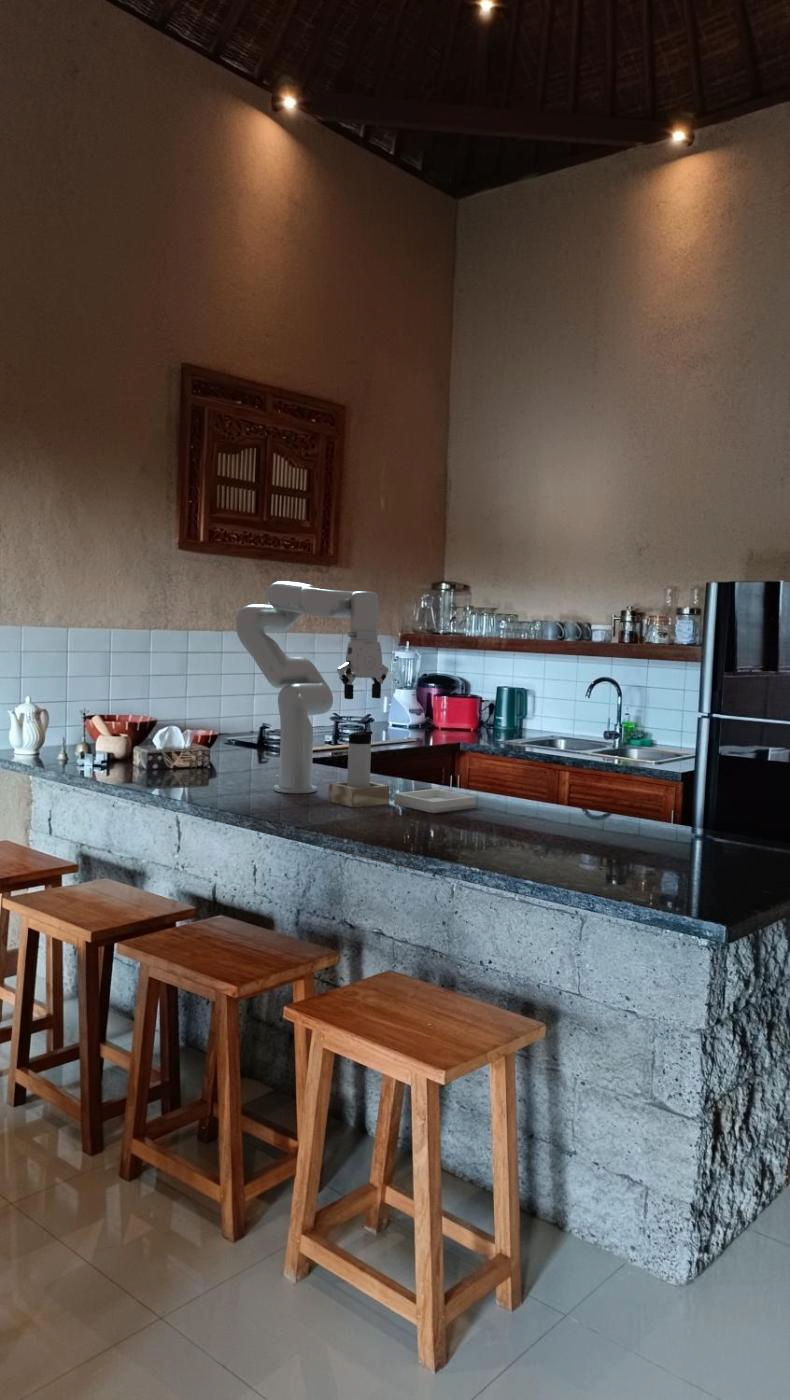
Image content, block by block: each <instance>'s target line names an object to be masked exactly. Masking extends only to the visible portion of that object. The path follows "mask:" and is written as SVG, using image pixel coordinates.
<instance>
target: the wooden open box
mask: <svg viewBox="0 0 790 1400" xmlns="http://www.w3.org/2000/svg"><path fill="white" fill-rule="evenodd" d="M328 802H330V803H335V804H339V805H343V806H347V807H352V808H354V807H357V808H362V807H363V806H365V807H371V806H372V807H373V806H380V805H381V806H382V805H389V804H390V785H387V784H384V783H383V784H382V783H377V782H373V781H370V787H363V788H354V787H349V786H347V781H338V782H337V781H336V782H328ZM363 808H364V807H363Z"/></svg>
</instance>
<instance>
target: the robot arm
mask: <svg viewBox="0 0 790 1400" xmlns="http://www.w3.org/2000/svg"><path fill="white" fill-rule="evenodd" d="M265 596H266V597H265V599H266V600H267V603H268V604H260V603H259V604H248V605H245V606H243V607H242V608H241V609H240V610H239V611H238V613H237V615H236V619H235V628H236V634H237V637H238V639H239V641H240V642H241V645H242V646H243V647H244V648H245V650H246V651H247V652H248V654H250V656H251V657H252V659H253V660H254V661H255V663H256V666H257V667H258V669H260V671H261V672H262V674H263V676H264V677H265V679H266V680H267V681H268V683H269V685H271V687H273V688H275V689H280V691H279V693H278V696H277V705H278V713H279V723H280V736H279V738H280V742H279V744H280V745H279V746H280V747H279V750H280V751H279V773H278V774H277V775H275V777H274V779H275V780H276V781H278V782H277V783H278V784H275V785H274V786H273V790H274V792H278V793H284V794H310V793H315V792H317V790H318V787H317V786H316V785H314V784H312V783H313V782H312V781H313V753H314V752H313V750H314V749H313V748H314V745H313V743H314V730H313V726H312V723H311V722H312V721H310V718H309V716H315V715H316V716H317V715H324V714H327V713H328V712H329V711H330V710H331V709H332V707H333V703H334V702H333V701H334V696H333V693H332V690H331V688H330V686H329V685H328V683H327V681H326V680H325V678H323V676H322V674H321V673H320V672H319V670H318V668H317V667H316V665H314V663H313V661H311V660H310V659H308V658H306V657H303V656H289V655H286V653H284V652H283V650H282V649H281V647H280V646H279V644H278V643H277V641H276V640H274V639H273V638H272V637H270V636H269V635H268V634H275V633H276V634H279V633H280V634H281V633H284V632H286V631H288V630H289V629H291V627H293V625H295V623H296V622H298V620H299V619H300V618H301V617H302V616H303V615H309V616H311V615H312V616H316V617H321V618H336V619H337V618H339V619H341V618H342V619H350V630H349V632H347V637H349V638H350V640H349V641H348V643H347V648H346V654H345V663H344V664H342V665H340V666H339V667H337V669H336V671H337V675H339V679H340V680H341V683H342V684H343V685H344V688H343V689H344V690H343V691H344V692H343V695H344V699H345V700H354V688H355V687H354V684H353V682H354V680H355V679H356V678H359V679H362V678H363V679H367V678H369V679H371V680H372V682H373V683H372V684H371V698H372V699H381V694H382V685H383V683H384V681H385V680H386V678H387V675H388V673H389V668H388V667H387V666H385V664H383V653H382V646H381V643H380V641H378V635H379V633H378V632H379V631H378V627H379V596H378V594H377V593H376V592H374V591H349V590H347V591H346V590H332V589H322V588H317V587H316V586H314V585H312V584H309V583H308V584H307V583H303V582H298V581H297V582H296V581H284V580H282V581H276V582H273V583H271V585H269V586H268V588H267V589H266V593H265Z"/></svg>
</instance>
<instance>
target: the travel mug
mask: <svg viewBox="0 0 790 1400" xmlns="http://www.w3.org/2000/svg"><path fill="white" fill-rule="evenodd" d="M373 734H374V733H373V730H372V731H371V730H369V731H360V732H359V731H358V732H352V733H350V734H349V735H348V749H347V750H348V751H347V752H348V753H347V758H348V759H347V780H346V782H347V786H349V787H354V788H363V787H370V782H371V760H372V759H371V758H372V741H371V740H372V737H371V735H373Z"/></svg>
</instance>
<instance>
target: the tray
mask: <svg viewBox="0 0 790 1400" xmlns="http://www.w3.org/2000/svg"><path fill="white" fill-rule="evenodd" d="M476 799H477V797H476V796H473V795H468V794H464V793H463V794H462V793H459V792H454V791H449V790H444V789H441V788H430V789H423V790H414V791H412V790H411V791H402V792H395V793H394V796H393V805H397V806H401V807H405V808H408V809H413V810H416V811H417V810H418V811H423V812H427V813H431V814H436V813H437V814H439V813H444V812H454V811H462V810H469V809H475V808H476V801H477V800H476Z"/></svg>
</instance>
